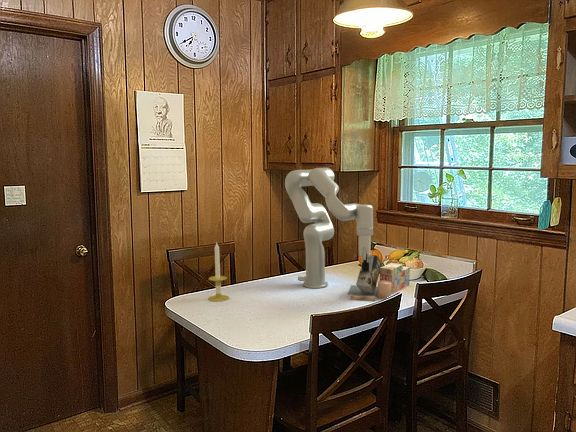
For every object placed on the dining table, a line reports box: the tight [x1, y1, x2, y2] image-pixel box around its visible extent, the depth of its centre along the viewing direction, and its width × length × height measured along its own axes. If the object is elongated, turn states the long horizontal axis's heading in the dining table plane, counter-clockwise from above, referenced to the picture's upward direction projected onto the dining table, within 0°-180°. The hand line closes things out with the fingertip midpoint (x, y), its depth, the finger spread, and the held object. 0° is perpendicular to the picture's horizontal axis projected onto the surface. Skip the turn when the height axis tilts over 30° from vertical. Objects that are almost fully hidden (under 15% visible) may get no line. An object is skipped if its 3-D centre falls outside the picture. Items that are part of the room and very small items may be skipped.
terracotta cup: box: [376, 279, 392, 300], centre depth 221 cm, size 6×6×7 cm
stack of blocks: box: [379, 262, 411, 295], centre depth 234 cm, size 21×6×12 cm, turn 143°
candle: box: [207, 242, 230, 303], centre depth 223 cm, size 10×10×27 cm
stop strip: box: [350, 295, 376, 302], centre depth 218 cm, size 11×1×2 cm, turn 76°
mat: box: [347, 284, 378, 297], centre depth 233 cm, size 16×16×1 cm
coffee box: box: [355, 254, 383, 294], centre depth 227 cm, size 9×6×16 cm
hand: (365, 270), depth 223 cm, fingers closed
